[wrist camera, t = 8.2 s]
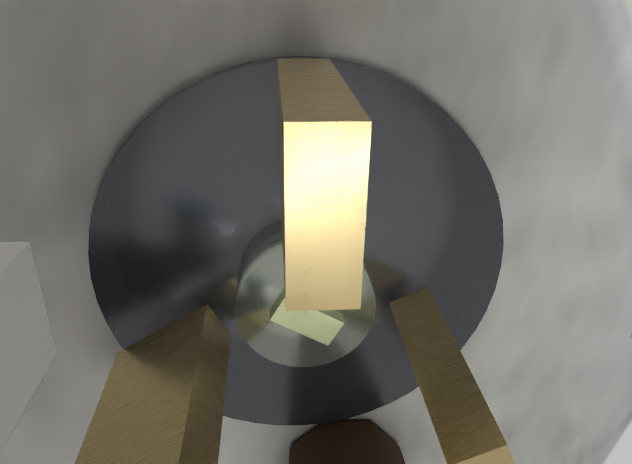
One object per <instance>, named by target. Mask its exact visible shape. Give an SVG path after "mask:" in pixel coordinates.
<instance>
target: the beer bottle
mask: <svg viewBox="0 0 632 464" xmlns="http://www.w3.org/2000/svg"><path fill="white" fill-rule="evenodd" d="M289 464H405V461H404V459H403V456H402V453H401V450H400V447H399V446H398V445H397V444H396V443H395V442H394V441H392V440H391V439H390V438H389V437H388V436H387V435H385V434H384V433H383V432H382V431H381V430H379V429H378V428H377V427H376V426H375V425H374V424H372V423H371V422H370V421H331V422H326V423H322V424H320V425H319V426H317V427H316V428H315V429H313V430H312V431H310V432H309V433H308V434H306V435H305V436H303V437H302V438H300V439H299V440H298V441H296V442H295V443H293V444H292V446H291V448H290V457H289Z"/></svg>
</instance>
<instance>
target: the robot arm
mask: <svg viewBox="0 0 632 464" xmlns="http://www.w3.org/2000/svg"><path fill="white" fill-rule="evenodd" d="M631 337H632V335H631ZM56 354H57V352H56V348H55V344H54V340H53V336H52V331H51V327H50V323H49V319H48V315H47V311H46V307H45V303H44V299H43V295H42V290H41V286H40V282H39V278H38V274H37V270H36V266H35V262H34V258H33V254H32V249H31V245H30V241H29V242H0V453H1V451H2V449H3V448H4V446H5V444H6V442H7V441H8V439H9V437H10V435H11V434H12V432H13V430H14V428H15V426H16V425H17V423H18V421H19V419H20V418H21V416H22V414H23V412H24V411H25V409H26V407H27V405H28V404H29V402H30V400H31V398H32V396H33V395H34V393H35V391H36V389H37V388H38V386H39V384H40V382H41V381H42V379H43V377H44V375H45V374H46V372H47V370H48V368H49V366H50V365H51V363H52V361H53V359H54V358H55V356H56Z"/></svg>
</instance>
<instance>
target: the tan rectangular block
mask: <svg viewBox="0 0 632 464" xmlns="http://www.w3.org/2000/svg"><path fill="white" fill-rule="evenodd" d="M389 304H390V307H391V309H392V312H393V315H394V318H395V320H396V323H397V326H398V329H399V332H400V334H401V337H402V340H403V343H404V345H405V348H406V351H407V354H408V356H409V359H410V362H411V365H412V367H413V370H414V373H415V376H416V378H417V381H418V384H419V387H420V390H421V392H422V395H423V398H424V401H425V403H426V406H427V409H428V412H429V414H430V417H431V420H432V423H433V425H434V428H435V431H436V434H437V436H438V439H439V442H440V445H441V448H442V450H443V453H444V456H445V459H446V461H447V464H515V463H514V461H513V458H512V456H511V453H510V450H509V448H508V445H507V443H506V441H505V439H504V437H503V435H502V433H501V431H500V429H499V427H498V425H497V423H496V421H495V419H494V417H493V415H492V413H491V411H490V409H489V407H488V405H487V403H486V401H485V399H484V397H483V395H482V393H481V391H480V389H479V387H478V385H477V383H476V381H475V379H474V377H473V375H472V373H471V371H470V369H469V367H468V365H467V363H466V361H465V359H464V357H463V356H462V354H461V352H460V350H459V348H458V346H457V344H456V342H455V340H454V338H453V336H452V334H451V332H450V330H449V328H448V326H447V324H446V322H445V320H444V318H443V316H442V314H441V312H440V310H439V308H438V306H437V304H436V302H435V300H434V298H433V296H432V294H431V292H430V290H429V288H428V287H427V288H424V289H422V290H419V291H417V292H414V293H412V294H409V295H407V296H404V297H402V298H399V299H397V300H395V301H392V302H390V303H389Z"/></svg>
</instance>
